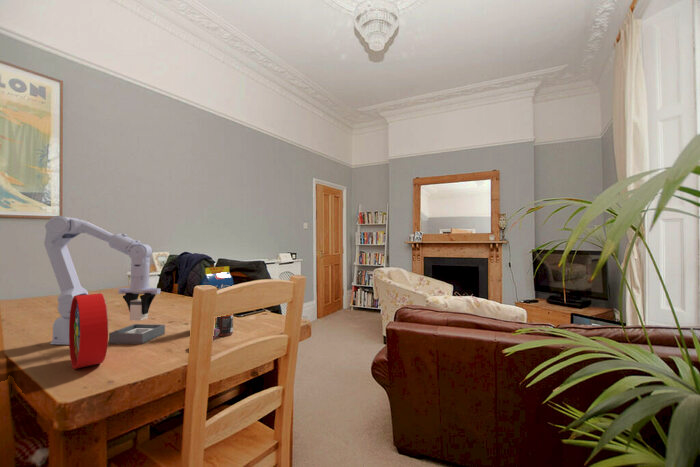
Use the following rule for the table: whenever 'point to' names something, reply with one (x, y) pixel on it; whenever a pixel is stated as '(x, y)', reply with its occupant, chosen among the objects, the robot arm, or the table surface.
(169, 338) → the table surface
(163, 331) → the walled box
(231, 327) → the supplement bottle
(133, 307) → the plug
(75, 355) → the toy clock
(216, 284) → the blue food package
